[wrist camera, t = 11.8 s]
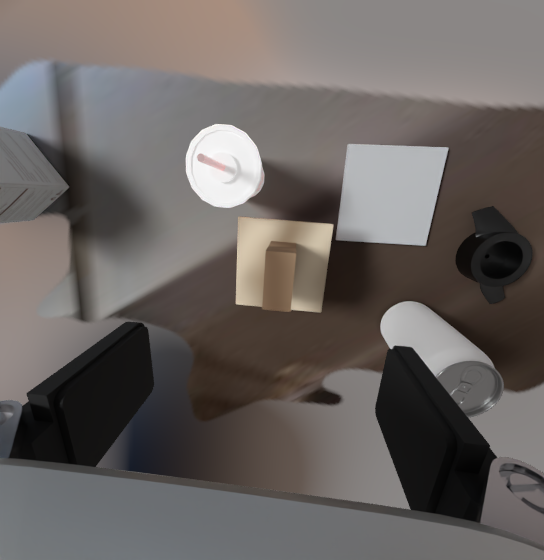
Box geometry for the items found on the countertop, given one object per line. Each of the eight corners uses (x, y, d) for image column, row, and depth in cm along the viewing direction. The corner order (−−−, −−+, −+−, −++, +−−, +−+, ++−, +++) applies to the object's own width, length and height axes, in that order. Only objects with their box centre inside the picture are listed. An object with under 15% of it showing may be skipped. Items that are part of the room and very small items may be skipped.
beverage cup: (274, 202, 29) (257, 204, 16) (222, 208, 30) (165, 215, 17) (267, 143, 27) (242, 89, 14) (213, 151, 28) (139, 107, 15)
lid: (332, 223, 24) (343, 230, 19) (320, 309, 27) (326, 337, 22) (239, 216, 25) (224, 221, 19) (237, 301, 28) (223, 326, 22)
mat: (446, 148, 26) (448, 147, 26) (423, 245, 29) (425, 245, 29) (347, 144, 27) (348, 144, 26) (335, 239, 30) (336, 240, 29)
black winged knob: (430, 286, 31) (444, 295, 28) (469, 202, 28) (488, 202, 25) (492, 301, 31) (512, 311, 28) (538, 219, 28) (565, 221, 25)
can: (442, 309, 31) (527, 372, 20) (416, 352, 33) (480, 431, 22) (393, 292, 31) (450, 346, 20) (370, 336, 33) (410, 408, 22)
